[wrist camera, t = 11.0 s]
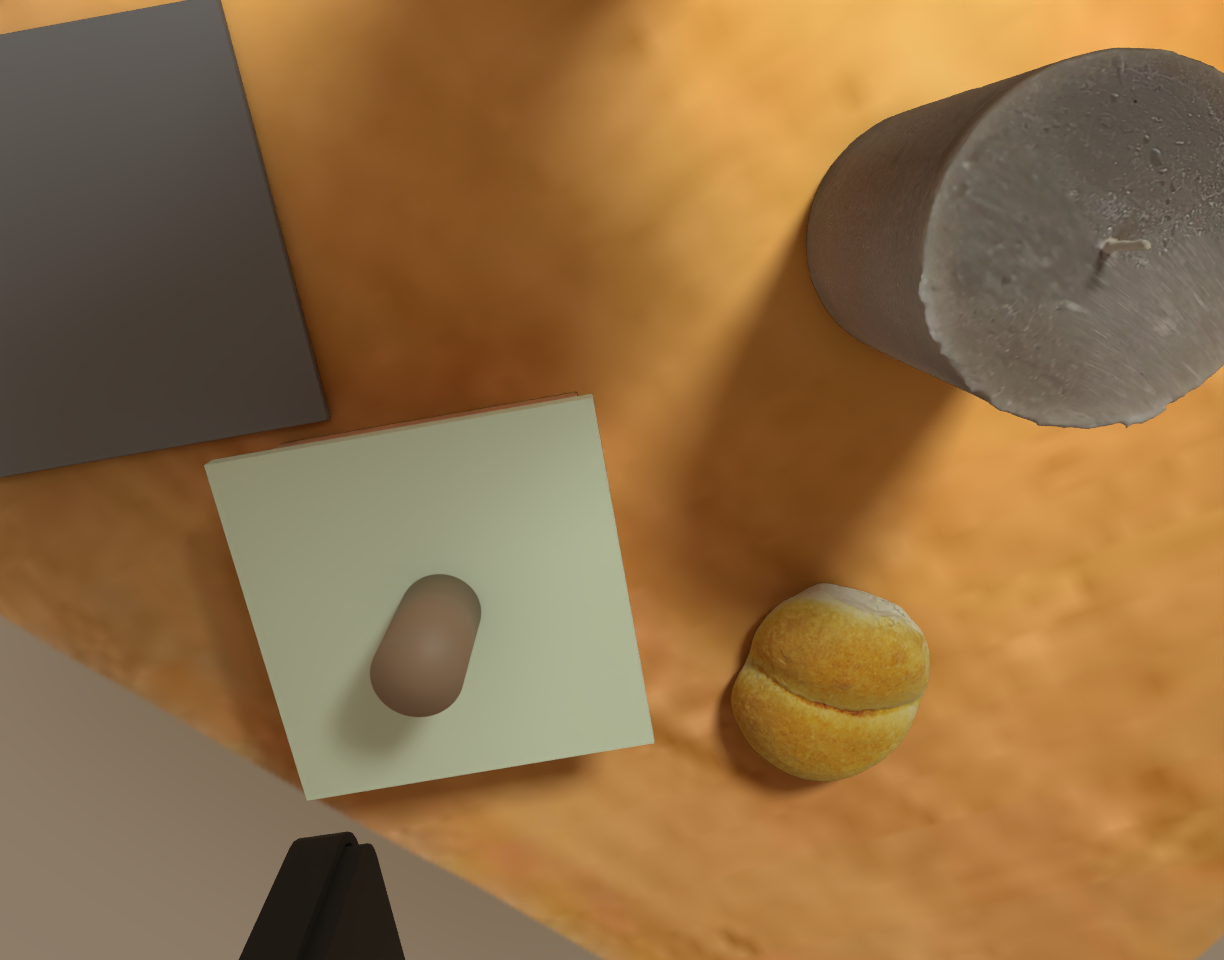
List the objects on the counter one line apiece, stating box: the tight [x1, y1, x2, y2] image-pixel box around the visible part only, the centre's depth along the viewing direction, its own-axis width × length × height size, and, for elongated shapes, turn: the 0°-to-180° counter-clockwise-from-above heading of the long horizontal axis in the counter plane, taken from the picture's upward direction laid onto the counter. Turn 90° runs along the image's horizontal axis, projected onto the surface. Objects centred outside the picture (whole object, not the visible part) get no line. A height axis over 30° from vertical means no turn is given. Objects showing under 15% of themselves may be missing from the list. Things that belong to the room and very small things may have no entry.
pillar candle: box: [806, 48, 1224, 429], centre depth 29 cm, size 10×10×15 cm
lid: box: [204, 394, 654, 801], centre depth 32 cm, size 14×14×6 cm
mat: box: [0, 0, 330, 477], centre depth 35 cm, size 16×16×1 cm
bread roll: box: [731, 583, 930, 782], centre depth 40 cm, size 8×9×4 cm
